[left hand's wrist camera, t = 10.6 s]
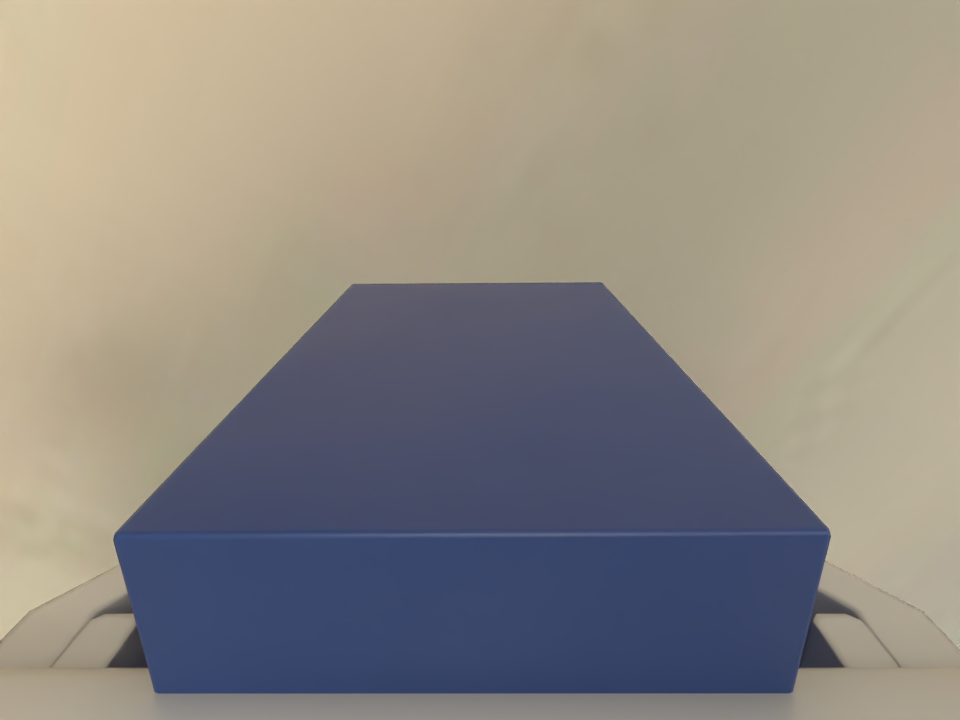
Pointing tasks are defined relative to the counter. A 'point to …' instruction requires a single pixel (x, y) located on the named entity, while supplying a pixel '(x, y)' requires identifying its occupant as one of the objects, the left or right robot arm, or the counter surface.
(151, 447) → the counter surface
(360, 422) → the block
